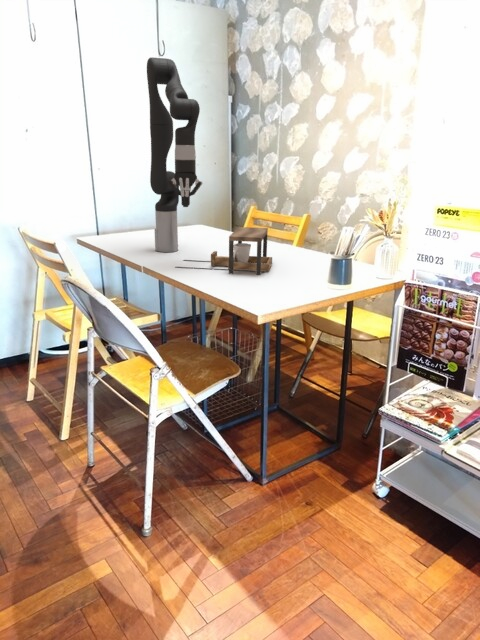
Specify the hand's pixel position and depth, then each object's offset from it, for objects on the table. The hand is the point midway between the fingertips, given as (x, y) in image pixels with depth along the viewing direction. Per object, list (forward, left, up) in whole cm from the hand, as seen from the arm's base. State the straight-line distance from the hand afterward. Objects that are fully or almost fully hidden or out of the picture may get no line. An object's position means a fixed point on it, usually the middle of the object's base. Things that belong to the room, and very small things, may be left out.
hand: (185, 206), depth 187 cm
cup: (+21, +1, -22) cm, 30 cm away
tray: (+21, 0, -21) cm, 30 cm away
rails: (+14, 0, -22) cm, 26 cm away
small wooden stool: (+24, 0, -22) cm, 33 cm away
